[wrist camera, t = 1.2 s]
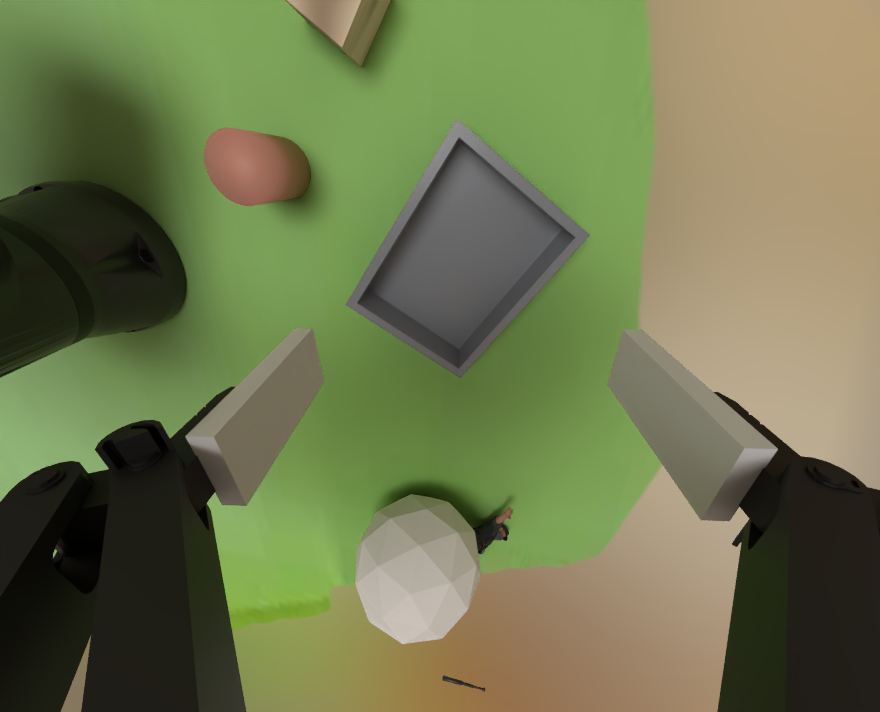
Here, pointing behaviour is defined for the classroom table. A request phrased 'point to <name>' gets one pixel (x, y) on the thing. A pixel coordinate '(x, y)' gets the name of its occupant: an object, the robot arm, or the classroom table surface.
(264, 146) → the red cylinder
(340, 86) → the classroom table surface
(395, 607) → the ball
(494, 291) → the tote
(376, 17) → the wooden cube
